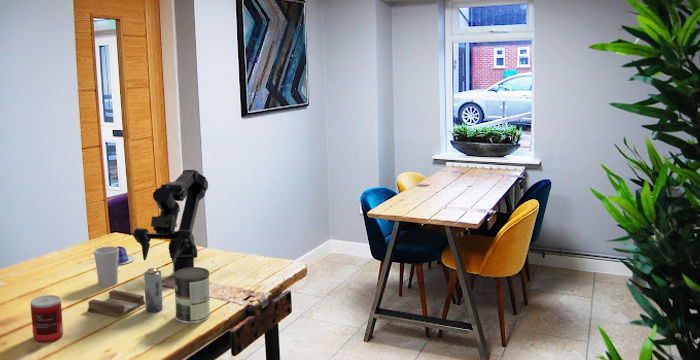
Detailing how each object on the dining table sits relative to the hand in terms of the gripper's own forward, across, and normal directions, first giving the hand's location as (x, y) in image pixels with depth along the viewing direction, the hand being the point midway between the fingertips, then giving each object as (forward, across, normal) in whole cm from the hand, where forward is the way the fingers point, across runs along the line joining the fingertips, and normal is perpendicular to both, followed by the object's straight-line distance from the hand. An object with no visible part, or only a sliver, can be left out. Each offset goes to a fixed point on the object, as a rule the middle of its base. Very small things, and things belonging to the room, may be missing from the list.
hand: (158, 260), depth 212 cm
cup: (+1, -23, +18) cm, 29 cm away
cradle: (+15, -11, +4) cm, 19 cm away
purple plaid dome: (-15, -29, +36) cm, 49 cm away
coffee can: (+18, +14, 0) cm, 23 cm away
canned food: (+31, -21, -13) cm, 39 cm away
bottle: (+15, +1, +3) cm, 16 cm away
